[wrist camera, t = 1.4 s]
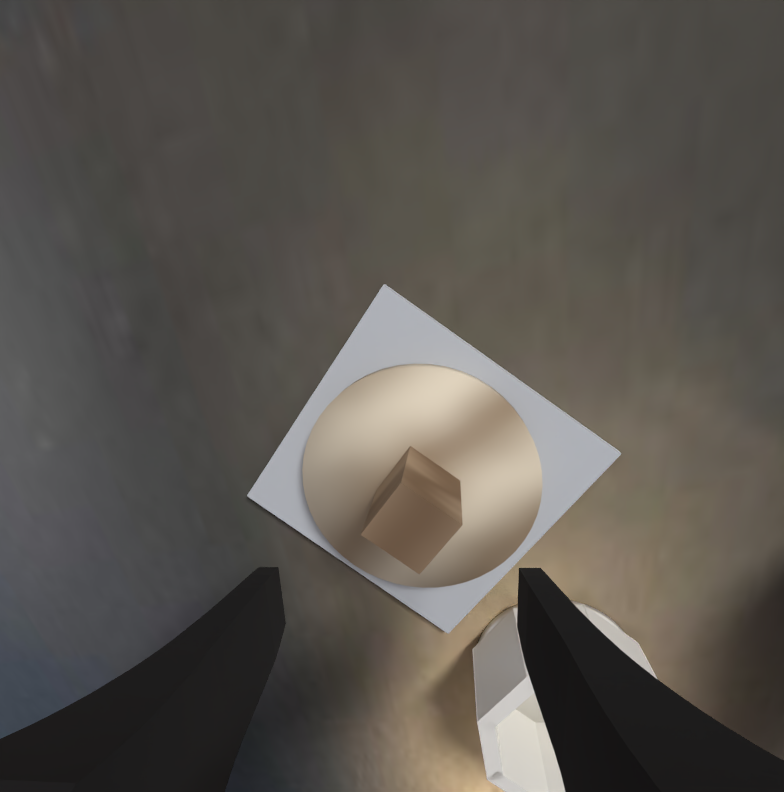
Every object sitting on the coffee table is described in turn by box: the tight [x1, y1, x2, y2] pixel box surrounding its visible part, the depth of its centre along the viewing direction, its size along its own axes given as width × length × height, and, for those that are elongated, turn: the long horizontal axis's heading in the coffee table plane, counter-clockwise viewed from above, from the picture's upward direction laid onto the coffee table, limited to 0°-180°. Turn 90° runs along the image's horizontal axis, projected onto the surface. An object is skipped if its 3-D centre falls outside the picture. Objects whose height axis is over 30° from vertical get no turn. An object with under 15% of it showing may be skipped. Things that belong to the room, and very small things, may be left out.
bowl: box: [472, 600, 657, 792], centre depth 22 cm, size 9×9×5 cm
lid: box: [302, 364, 543, 588], centre depth 19 cm, size 12×12×5 cm
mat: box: [247, 284, 621, 633], centre depth 22 cm, size 14×14×1 cm
